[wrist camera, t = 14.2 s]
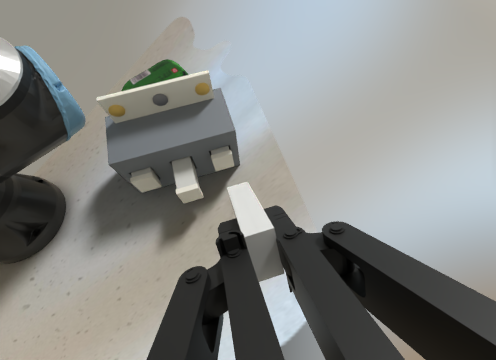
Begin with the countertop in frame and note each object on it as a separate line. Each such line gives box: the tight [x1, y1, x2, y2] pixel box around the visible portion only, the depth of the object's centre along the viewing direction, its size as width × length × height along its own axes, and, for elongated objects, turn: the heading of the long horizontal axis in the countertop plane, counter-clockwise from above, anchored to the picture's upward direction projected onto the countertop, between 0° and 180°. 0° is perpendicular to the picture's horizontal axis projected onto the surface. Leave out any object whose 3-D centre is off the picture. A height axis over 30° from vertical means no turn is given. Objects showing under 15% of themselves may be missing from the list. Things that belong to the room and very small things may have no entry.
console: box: [105, 88, 240, 193], centre depth 43 cm, size 19×9×11 cm, turn 107°
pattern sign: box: [97, 70, 214, 123], centre depth 37 cm, size 16×1×5 cm, turn 107°
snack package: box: [122, 59, 188, 91], centre depth 54 cm, size 7×16×5 cm, turn 133°
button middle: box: [171, 156, 204, 203], centre depth 41 cm, size 3×8×4 cm, turn 17°
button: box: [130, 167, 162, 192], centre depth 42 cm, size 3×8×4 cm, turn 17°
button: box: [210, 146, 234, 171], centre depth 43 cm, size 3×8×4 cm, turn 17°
